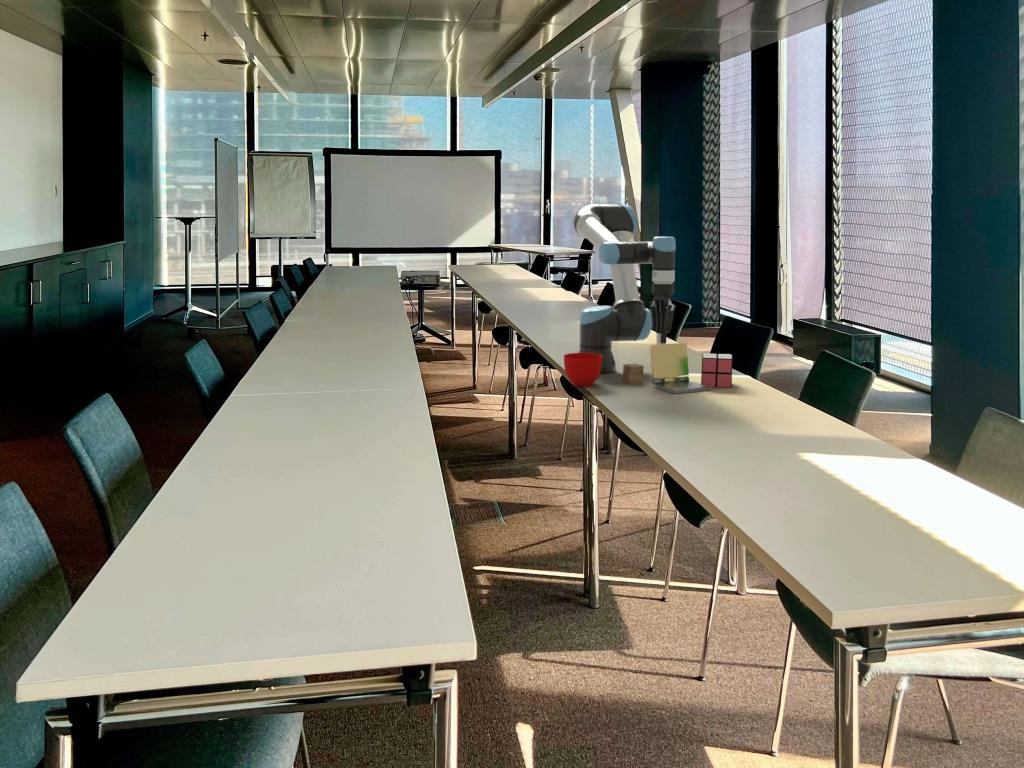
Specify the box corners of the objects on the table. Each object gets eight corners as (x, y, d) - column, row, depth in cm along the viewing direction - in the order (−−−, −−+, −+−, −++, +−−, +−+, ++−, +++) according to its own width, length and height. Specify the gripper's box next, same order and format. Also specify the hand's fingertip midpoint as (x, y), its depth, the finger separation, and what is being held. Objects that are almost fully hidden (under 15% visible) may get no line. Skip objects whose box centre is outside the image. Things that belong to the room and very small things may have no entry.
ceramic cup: (608, 380, 333) (609, 352, 331) (596, 389, 317) (597, 359, 315) (572, 378, 337) (572, 350, 335) (558, 387, 321) (559, 357, 319)
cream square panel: (689, 381, 326) (686, 381, 327) (687, 342, 325) (684, 342, 327) (655, 384, 320) (652, 384, 321) (652, 345, 319) (649, 345, 321)
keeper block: (622, 381, 332) (623, 364, 330) (635, 380, 334) (635, 363, 333) (630, 384, 327) (631, 366, 326) (643, 382, 329) (643, 365, 328)
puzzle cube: (731, 388, 320) (732, 358, 318) (700, 387, 322) (702, 357, 320) (730, 383, 330) (732, 354, 328) (701, 381, 332) (702, 353, 330)
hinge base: (686, 383, 328) (686, 375, 327) (709, 390, 316) (710, 382, 315) (651, 386, 322) (651, 378, 321) (674, 393, 310) (674, 385, 310)
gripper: (643, 281, 328) (641, 350, 332) (664, 284, 316) (662, 355, 320) (661, 281, 331) (659, 349, 335) (683, 283, 319) (681, 354, 323)
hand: (661, 352), depth 328 cm, fingers closed
